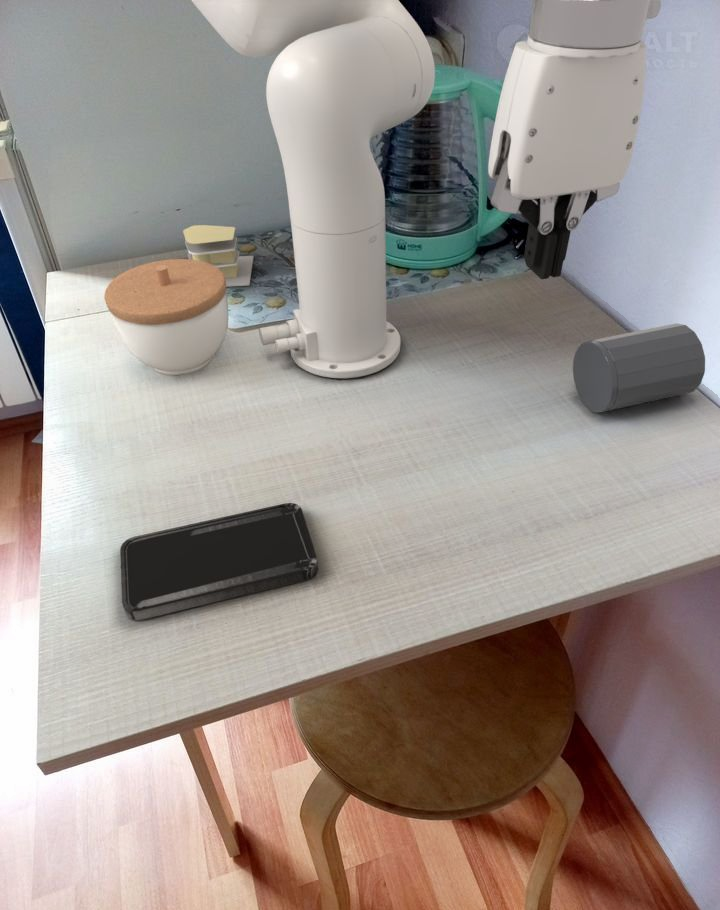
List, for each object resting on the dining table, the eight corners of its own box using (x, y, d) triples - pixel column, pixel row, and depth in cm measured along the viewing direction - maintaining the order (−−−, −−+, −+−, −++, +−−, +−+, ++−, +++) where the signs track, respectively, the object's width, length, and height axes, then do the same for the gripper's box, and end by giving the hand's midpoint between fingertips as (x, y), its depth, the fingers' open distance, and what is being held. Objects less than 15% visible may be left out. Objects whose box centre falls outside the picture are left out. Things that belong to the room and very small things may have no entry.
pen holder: (618, 366, 64) (713, 346, 66) (579, 328, 69) (668, 311, 71) (603, 426, 69) (693, 406, 70) (568, 387, 74) (652, 369, 76)
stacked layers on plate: (253, 255, 100) (248, 218, 96) (249, 285, 93) (243, 246, 90) (182, 259, 100) (174, 222, 96) (173, 289, 93) (164, 250, 90)
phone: (320, 567, 55) (122, 614, 52) (320, 576, 56) (126, 623, 53) (298, 499, 61) (119, 538, 58) (299, 508, 61) (123, 547, 59)
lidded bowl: (119, 343, 83) (92, 255, 76) (223, 320, 87) (207, 233, 80) (134, 401, 74) (106, 307, 67) (250, 372, 78) (234, 280, 71)
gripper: (648, 3, 52) (595, 239, 64) (461, 18, 49) (443, 265, 61) (716, 23, 47) (644, 277, 59) (512, 42, 43) (480, 307, 56)
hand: (542, 270), depth 60 cm, fingers closed
